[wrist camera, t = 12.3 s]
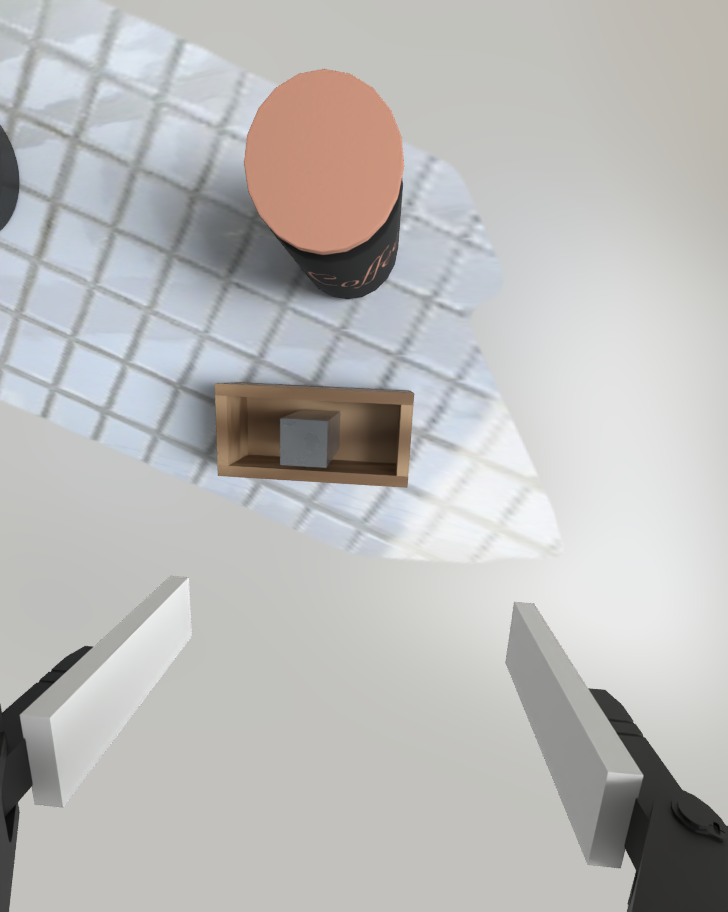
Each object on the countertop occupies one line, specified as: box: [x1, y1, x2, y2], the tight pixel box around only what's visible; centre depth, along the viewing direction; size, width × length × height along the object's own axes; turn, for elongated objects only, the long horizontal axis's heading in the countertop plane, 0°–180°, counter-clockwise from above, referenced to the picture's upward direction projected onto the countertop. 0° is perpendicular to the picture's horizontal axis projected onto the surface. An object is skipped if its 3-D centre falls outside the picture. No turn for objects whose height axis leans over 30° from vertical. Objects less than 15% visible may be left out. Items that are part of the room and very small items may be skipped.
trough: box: [215, 382, 414, 488], centre depth 44 cm, size 10×21×7 cm, turn 87°
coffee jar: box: [244, 69, 404, 299], centre depth 34 cm, size 11×11×18 cm
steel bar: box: [280, 409, 341, 468], centre depth 41 cm, size 4×4×10 cm
